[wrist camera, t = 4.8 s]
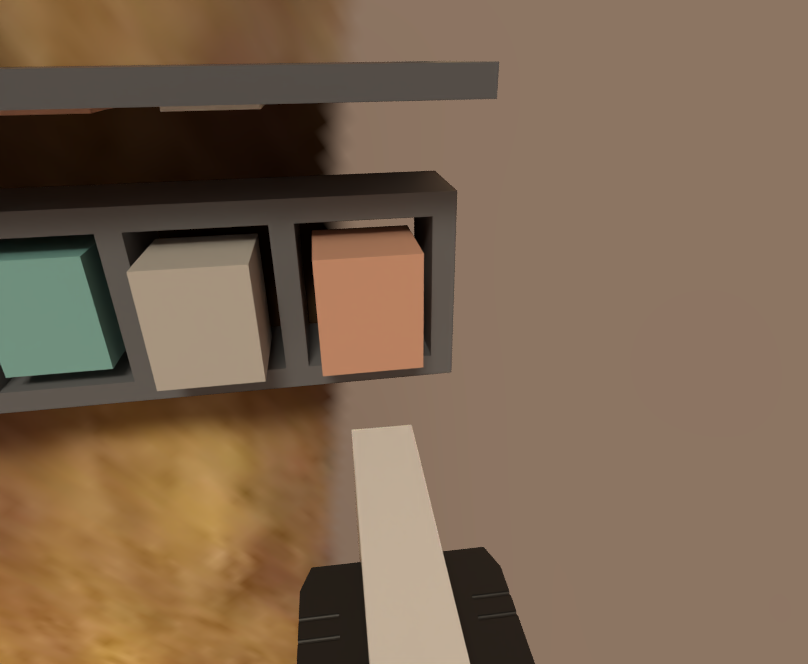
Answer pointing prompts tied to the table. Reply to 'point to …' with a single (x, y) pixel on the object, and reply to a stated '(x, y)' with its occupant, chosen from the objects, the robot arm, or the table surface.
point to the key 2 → (55, 307)
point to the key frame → (232, 207)
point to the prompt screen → (238, 85)
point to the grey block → (203, 310)
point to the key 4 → (368, 299)
